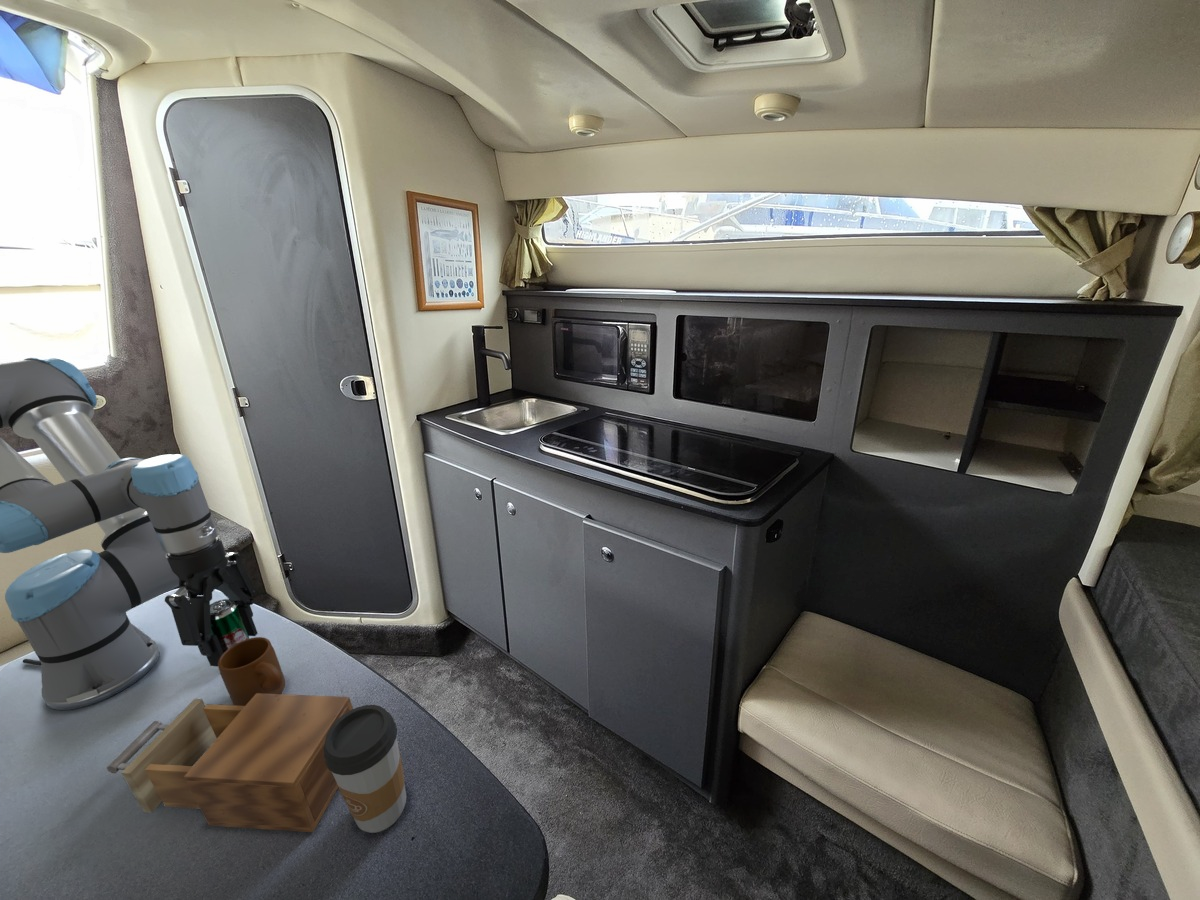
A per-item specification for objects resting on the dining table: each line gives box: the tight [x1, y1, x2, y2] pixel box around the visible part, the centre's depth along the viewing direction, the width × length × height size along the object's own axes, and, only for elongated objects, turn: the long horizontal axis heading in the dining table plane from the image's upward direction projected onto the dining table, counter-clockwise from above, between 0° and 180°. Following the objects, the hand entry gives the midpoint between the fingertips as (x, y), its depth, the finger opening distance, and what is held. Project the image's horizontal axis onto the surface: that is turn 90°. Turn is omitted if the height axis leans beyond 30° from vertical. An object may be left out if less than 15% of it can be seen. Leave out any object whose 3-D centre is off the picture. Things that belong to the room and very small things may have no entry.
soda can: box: [210, 598, 250, 653], centre depth 91 cm, size 5×5×12 cm
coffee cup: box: [324, 704, 407, 834], centre depth 64 cm, size 8×8×15 cm
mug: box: [217, 636, 286, 706], centre depth 82 cm, size 12×8×9 cm, turn 63°
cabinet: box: [184, 693, 354, 833], centre depth 69 cm, size 15×13×10 cm
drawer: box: [106, 698, 245, 814], centre depth 70 cm, size 19×11×8 cm, turn 86°
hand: (235, 648), depth 92 cm, fingers open, 7 cm apart
